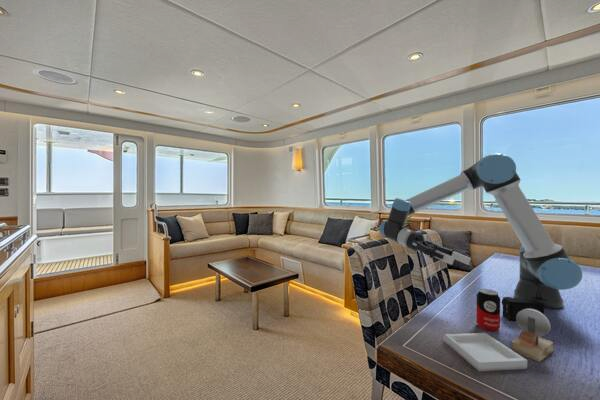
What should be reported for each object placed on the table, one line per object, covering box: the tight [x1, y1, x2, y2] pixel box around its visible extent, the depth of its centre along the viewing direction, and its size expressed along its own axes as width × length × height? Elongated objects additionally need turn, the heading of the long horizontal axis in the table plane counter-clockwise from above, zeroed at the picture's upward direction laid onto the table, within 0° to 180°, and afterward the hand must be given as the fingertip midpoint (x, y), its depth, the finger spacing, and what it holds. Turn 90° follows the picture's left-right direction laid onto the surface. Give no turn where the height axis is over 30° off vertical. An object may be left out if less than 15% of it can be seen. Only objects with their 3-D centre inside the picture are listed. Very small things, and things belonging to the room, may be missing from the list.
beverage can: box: [475, 288, 501, 332], centre depth 84 cm, size 6×6×12 cm
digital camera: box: [501, 296, 545, 323], centre depth 90 cm, size 10×5×7 cm, turn 79°
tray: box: [444, 332, 528, 372], centre depth 70 cm, size 13×13×2 cm
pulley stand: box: [510, 308, 555, 363], centre depth 71 cm, size 10×7×12 cm
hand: (461, 261), depth 94 cm, fingers open, 13 cm apart
